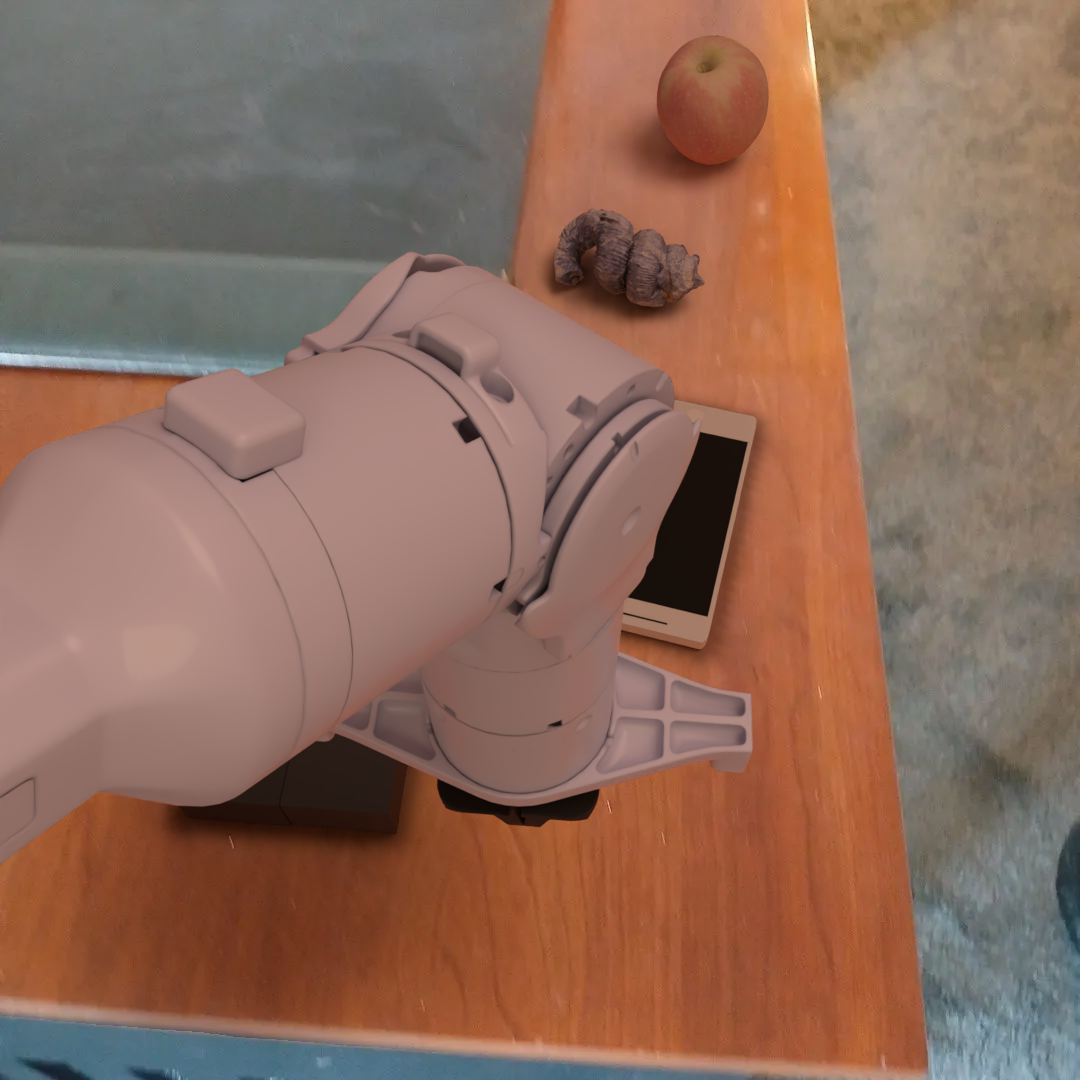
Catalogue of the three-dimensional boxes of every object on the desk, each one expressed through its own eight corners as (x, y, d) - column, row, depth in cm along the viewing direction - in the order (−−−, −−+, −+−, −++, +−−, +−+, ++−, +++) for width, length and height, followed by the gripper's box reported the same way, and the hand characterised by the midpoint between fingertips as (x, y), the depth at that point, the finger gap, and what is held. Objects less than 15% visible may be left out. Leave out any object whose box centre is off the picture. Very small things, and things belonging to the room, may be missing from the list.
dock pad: (292, 826, 50) (277, 804, 48) (189, 818, 50) (168, 796, 48) (324, 673, 54) (312, 645, 52) (229, 666, 55) (212, 638, 52)
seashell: (552, 285, 71) (695, 327, 69) (535, 271, 66) (689, 315, 64) (576, 207, 70) (721, 247, 69) (561, 186, 65) (717, 229, 63)
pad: (396, 834, 50) (388, 814, 47) (292, 826, 50) (278, 805, 48) (420, 679, 54) (414, 653, 52) (324, 672, 55) (313, 646, 52)
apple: (650, 117, 79) (659, 14, 72) (753, 118, 78) (772, 14, 72) (653, 188, 74) (663, 85, 68) (762, 189, 74) (783, 86, 67)
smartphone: (756, 425, 63) (758, 415, 62) (704, 651, 55) (707, 643, 54) (638, 400, 64) (639, 390, 63) (571, 618, 56) (571, 610, 55)
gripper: (772, 537, 31) (714, 718, 43) (292, 507, 32) (360, 692, 44) (782, 764, 28) (715, 896, 39) (237, 723, 28) (328, 864, 40)
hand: (527, 800), depth 41 cm, fingers closed
